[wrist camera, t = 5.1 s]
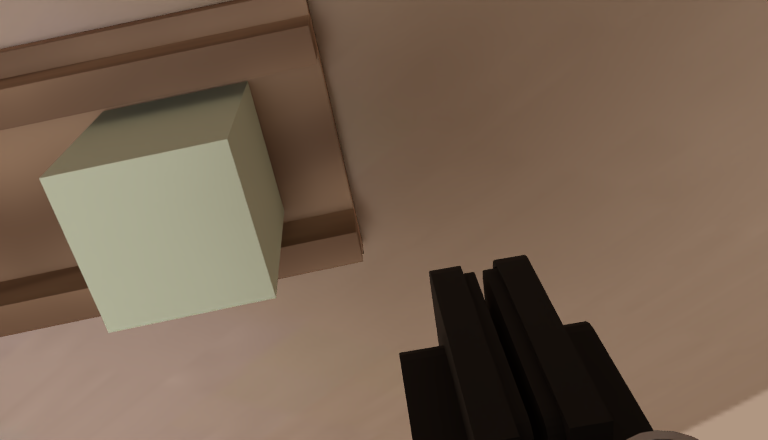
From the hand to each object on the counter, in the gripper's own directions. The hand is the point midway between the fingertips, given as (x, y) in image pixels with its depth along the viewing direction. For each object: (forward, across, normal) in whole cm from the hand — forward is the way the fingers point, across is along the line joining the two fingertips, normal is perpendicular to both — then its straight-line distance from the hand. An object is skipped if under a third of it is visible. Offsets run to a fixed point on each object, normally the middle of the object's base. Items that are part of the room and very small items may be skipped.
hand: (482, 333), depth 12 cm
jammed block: (+13, +7, +1) cm, 15 cm away
